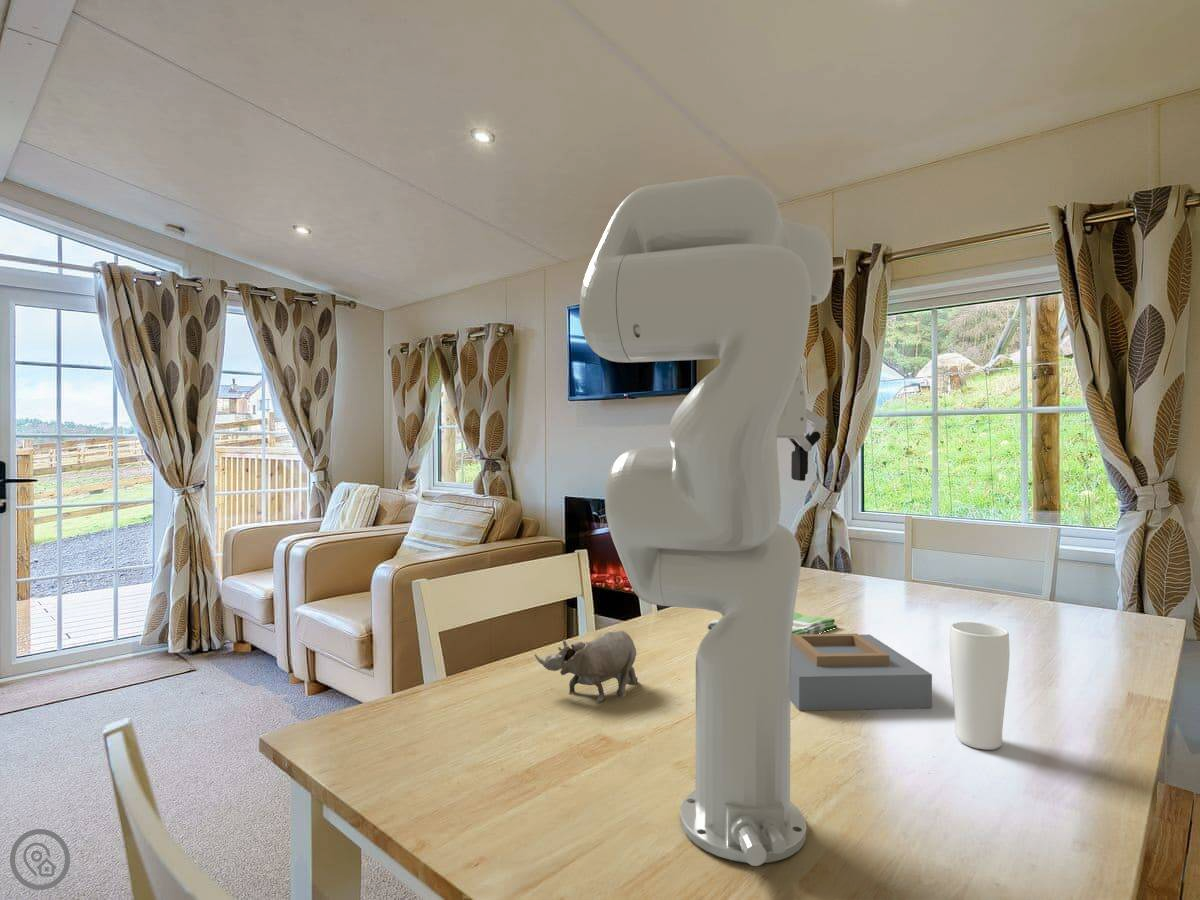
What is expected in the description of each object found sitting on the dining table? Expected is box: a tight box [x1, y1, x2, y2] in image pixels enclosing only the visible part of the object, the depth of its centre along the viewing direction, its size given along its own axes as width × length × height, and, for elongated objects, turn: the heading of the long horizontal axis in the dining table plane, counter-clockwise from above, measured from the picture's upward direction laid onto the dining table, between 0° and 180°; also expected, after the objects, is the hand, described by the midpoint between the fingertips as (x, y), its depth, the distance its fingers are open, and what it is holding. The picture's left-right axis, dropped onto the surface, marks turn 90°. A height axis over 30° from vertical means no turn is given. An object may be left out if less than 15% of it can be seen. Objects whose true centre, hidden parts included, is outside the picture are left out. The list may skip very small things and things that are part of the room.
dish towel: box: [707, 611, 838, 634], centre depth 137 cm, size 17×23×4 cm
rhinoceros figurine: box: [534, 630, 639, 704], centre depth 102 cm, size 8×14×15 cm
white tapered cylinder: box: [949, 621, 1010, 751], centre depth 85 cm, size 7×7×15 cm
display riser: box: [790, 633, 933, 712], centre depth 106 cm, size 20×20×6 cm
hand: (764, 480), depth 89 cm, fingers open, 9 cm apart
